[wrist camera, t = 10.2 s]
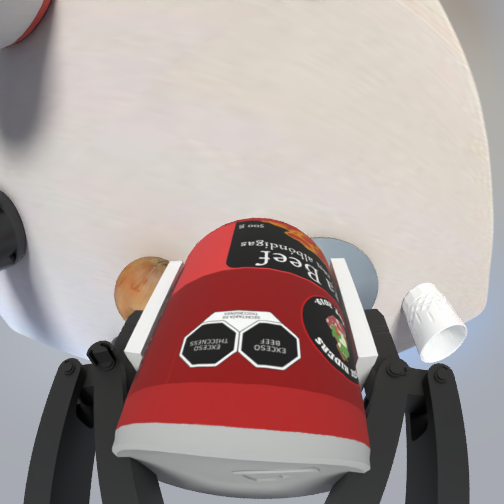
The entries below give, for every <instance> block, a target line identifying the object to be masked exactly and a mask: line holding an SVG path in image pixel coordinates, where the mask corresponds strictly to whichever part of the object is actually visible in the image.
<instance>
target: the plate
mask: <svg viewBox="0 0 504 504" xmlns="http://www.w3.org/2000/svg"><path fill="white" fill-rule="evenodd" d="M311 239H312V240H313V241H314V242H315V244H316V245H317V246H318V247H319V248H320V249H321V250H322V252H323V254H324V256H325V258H326V260H327V262H328V265H329V268H330V259H331V258H344V259H345V262H346V264H347V267H348V269H349V272H350V274H351V277H352V280H353V282H354V285H355V288H356V291H357V293H358V296H359V299H360V302H361V304H362V307H363V310H368V309H371V308H372V307H373V305H374V303H375V300H376V297H377V293H378V277H377V273H376V270H375V268H374V266H373V264H372V262H371V261H370V259H369V258H368V257H367V255H366V254H365V253H364V252H363V251H361V250H360V249H359V248H357V247H356V246H354V245H352V244H350V243H348V242H345V241H342V240H339V239H334V238H325V237H317V238H311Z"/></svg>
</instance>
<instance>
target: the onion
mask: <svg viewBox="0 0 504 504" xmlns="http://www.w3.org/2000/svg"><path fill="white" fill-rule="evenodd" d="M168 264H169V261H168V260H164V259H162V258H159V257H143V258H140V259H137V260H135V261H133V262H131V263H130V264H129V265H127V266H126V267H125V268H124V269H123V271H122V272H121V274H120V275H119V277H118V279H117V282H116V285H115V293H114V297H115V303H116V306H117V309H118V311H119V313H120V315H121V316H122V318H123V319H124V320H125V321H126V320H127V319H128V317H129V316H130V315H131V314H132V313H133V312H134V311H135V310H143V311H144V309H145V307H146V305H147V303H148V301H149V299H150V297H151V296H152V294H153V292H154V290H155V288H156V286H157V284H158V282H159V280H160V279H161V277H162V275H163V273H164V271H165V269H166V268H167V266H168Z"/></svg>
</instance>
